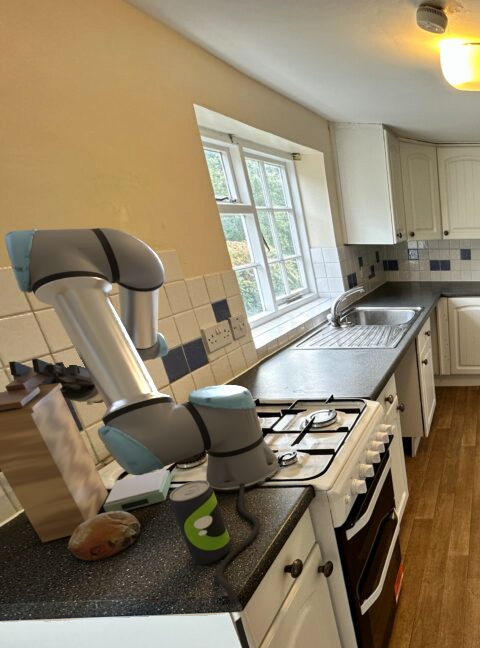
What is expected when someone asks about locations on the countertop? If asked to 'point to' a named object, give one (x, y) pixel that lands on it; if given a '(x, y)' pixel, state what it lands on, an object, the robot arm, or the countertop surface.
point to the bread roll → (104, 535)
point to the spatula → (21, 390)
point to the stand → (49, 464)
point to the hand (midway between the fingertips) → (24, 366)
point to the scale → (138, 491)
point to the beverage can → (200, 521)
